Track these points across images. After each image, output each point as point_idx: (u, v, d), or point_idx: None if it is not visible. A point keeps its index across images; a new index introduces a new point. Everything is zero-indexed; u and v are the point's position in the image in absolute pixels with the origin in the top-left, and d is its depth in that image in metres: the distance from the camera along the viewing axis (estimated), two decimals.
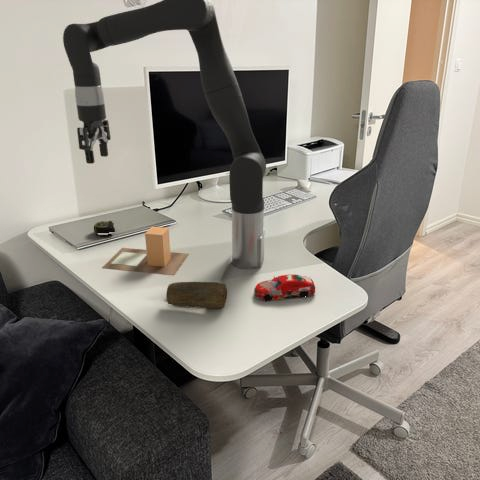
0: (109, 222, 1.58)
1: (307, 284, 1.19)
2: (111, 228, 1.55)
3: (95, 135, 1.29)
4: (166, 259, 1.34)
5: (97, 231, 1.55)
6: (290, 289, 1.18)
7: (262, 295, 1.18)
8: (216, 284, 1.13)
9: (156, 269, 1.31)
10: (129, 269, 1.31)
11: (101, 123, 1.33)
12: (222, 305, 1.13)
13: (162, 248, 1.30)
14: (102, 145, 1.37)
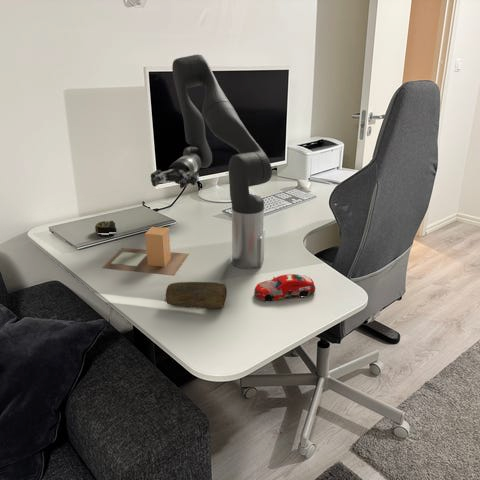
0: (110, 222, 1.58)
1: (307, 284, 1.19)
2: (113, 228, 1.55)
3: (167, 171, 1.43)
4: (166, 259, 1.34)
5: (99, 231, 1.55)
6: (290, 288, 1.19)
7: (263, 295, 1.17)
8: (215, 284, 1.13)
9: (156, 269, 1.31)
10: (129, 269, 1.31)
11: (186, 171, 1.45)
12: (222, 305, 1.13)
13: (162, 248, 1.30)
14: None
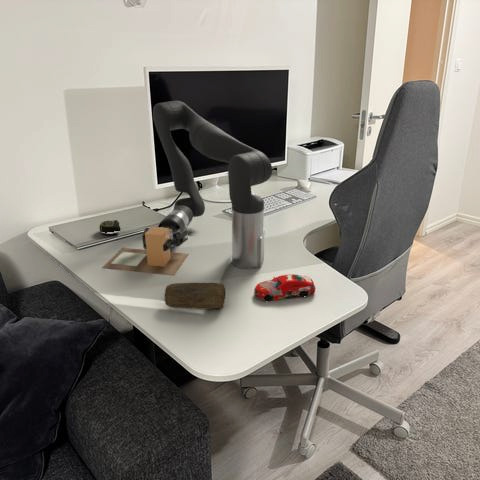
0: (115, 221, 1.59)
1: (307, 284, 1.19)
2: (117, 227, 1.56)
3: None
4: (166, 259, 1.34)
5: (103, 230, 1.55)
6: (290, 289, 1.18)
7: (262, 295, 1.17)
8: (214, 285, 1.13)
9: (156, 269, 1.31)
10: (129, 269, 1.31)
11: (176, 229, 1.39)
12: (221, 306, 1.13)
13: (162, 248, 1.30)
14: None
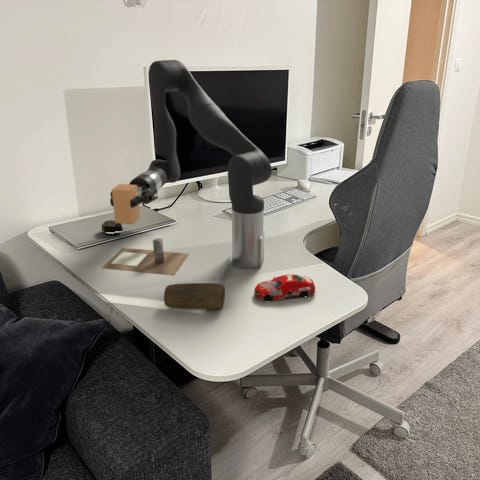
0: None
1: (307, 284, 1.19)
2: (119, 227, 1.56)
3: None
4: (134, 217, 1.30)
5: (105, 229, 1.56)
6: (290, 289, 1.18)
7: (262, 295, 1.17)
8: (214, 285, 1.13)
9: (156, 269, 1.31)
10: (129, 269, 1.31)
11: (146, 188, 1.36)
12: (220, 306, 1.13)
13: (129, 205, 1.27)
14: None
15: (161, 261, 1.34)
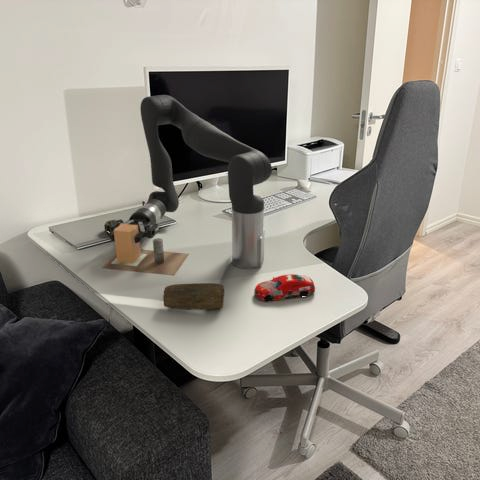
0: None
1: (307, 284, 1.19)
2: None
3: (126, 223, 1.39)
4: (135, 256, 1.35)
5: (108, 229, 1.56)
6: (290, 289, 1.18)
7: (263, 296, 1.17)
8: (213, 285, 1.13)
9: (156, 269, 1.31)
10: (129, 269, 1.31)
11: (146, 223, 1.40)
12: (220, 306, 1.13)
13: (131, 245, 1.32)
14: None
15: (161, 261, 1.34)
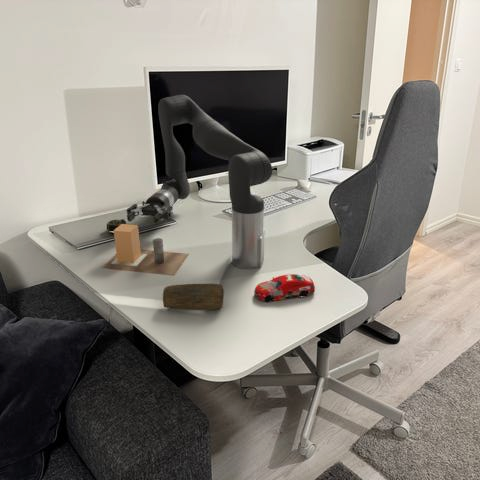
0: (121, 220, 1.60)
1: (307, 284, 1.20)
2: None
3: (143, 206, 1.50)
4: (135, 256, 1.35)
5: (110, 229, 1.56)
6: (290, 289, 1.19)
7: (263, 296, 1.17)
8: (213, 285, 1.13)
9: (156, 269, 1.31)
10: (129, 269, 1.31)
11: (161, 206, 1.52)
12: (220, 306, 1.13)
13: (131, 245, 1.32)
14: None
15: (161, 261, 1.34)
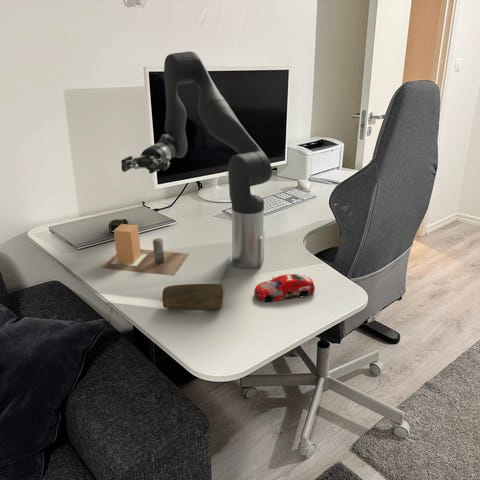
0: (123, 220, 1.60)
1: (307, 284, 1.20)
2: None
3: (138, 157, 1.44)
4: (135, 256, 1.35)
5: (112, 228, 1.56)
6: (290, 289, 1.18)
7: (263, 296, 1.17)
8: (212, 285, 1.13)
9: (156, 269, 1.31)
10: (129, 269, 1.31)
11: (157, 158, 1.45)
12: (219, 306, 1.13)
13: (131, 245, 1.32)
14: None
15: (161, 261, 1.34)
